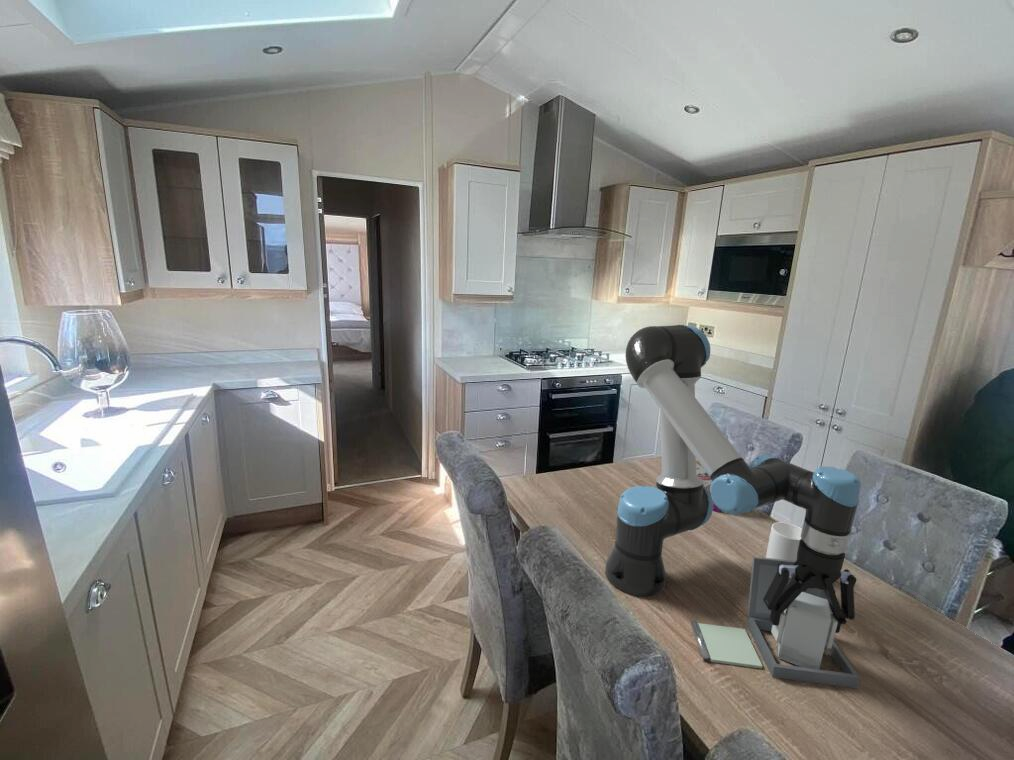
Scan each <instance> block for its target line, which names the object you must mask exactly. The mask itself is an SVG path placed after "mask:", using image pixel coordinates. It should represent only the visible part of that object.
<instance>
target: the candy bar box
mask: <svg viewBox="0 0 1014 760" xmlns="http://www.w3.org/2000/svg"><path fill="white" fill-rule="evenodd" d="M696 473H697V476H698V477H700V478H701V479H702V480H703V486H705V487H706V489H707V490H708V494H710V495H711V493H710V487H711V484H712V482H713V481H712V480H711V478H710V477H709V475H708V474H707V473H706V471H705V470H704V469H703V467H702V466H701V464H700V463H699V462H698V460H697V459H696ZM711 497H712V496H711ZM712 501H713V500H712ZM712 512H717V513H722V511H721V510H720V509H719V508H718V507H717V506H716V505H715V504H714V502H713V511H712Z"/></svg>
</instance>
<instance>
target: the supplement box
mask: <svg viewBox="0 0 1014 760" xmlns="http://www.w3.org/2000/svg"><path fill="white" fill-rule="evenodd" d="M830 612H831V608H830V606H829V603H828V600H827V598H826V599H823V598H820V597H817V596H814V595H811V594H808V593H805V592H801V593H800V595H799V596H798V597H797V598H796V599H795V600H794V601H793V602H792V603H791V604H790V605H789V606H788V607H787V608H786V610H785V611H784V613H785V615H786V619H785V624H784V628H783V633H782V637H781V642H777V659H780V660H783V661H785V662H788V663H791V664H793V665H794V666H796V667H804V668H812V669H819V670H821V665H822V660H823V656H824V651H825V649H826V647H825V644H826V640H827V635H828V631H829V627H830V623H831V615H830Z"/></svg>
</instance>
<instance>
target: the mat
mask: <svg viewBox="0 0 1014 760" xmlns="http://www.w3.org/2000/svg"><path fill="white" fill-rule="evenodd" d="M697 624H698V627H699V629H700V632H701V635H702V638H703V641H704V643H705V646H706V649H707V652H708V655H709V658H710V659H709V661H710V663H716V664H717V663H718V664H726V665H732V666H740V667H746V668H756V669H763V666H764V665H763V663H762V662H761V660H760V657H759V656H758V654H757V652H756V650H755V647H754V645H753V643H752V641H751V639H750V637H749V635H748V632H747V631H746V629H745V628H740V627H731V626H724V625H715V624H710V623H709V624H708V623H701V622H700V623H699V622H697Z"/></svg>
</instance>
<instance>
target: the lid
mask: <svg viewBox="0 0 1014 760" xmlns="http://www.w3.org/2000/svg"><path fill="white" fill-rule="evenodd" d="M780 562H782V563H783V564H784V565H793V564H794V563H795V562H796V561H790V560H781V559H771V558H766V557H761V556H752V563H751V574H750V575H751V576H750V585H749V596H748V606H747V616H748V618H749V617H756V618H765V619H770V615H771V611H772V610H769V609H768V608H767V606H766V604H765V603H764V601H763V599H764V597H765V595H766V593H767V591H768V589H769V587H770V585H771V583H772V581H773V579H774V577H775V575H776V573H777V567H778V563H780ZM795 574H796V573H792V575H791V576H792V577H793V576H794V575H795ZM792 577H791V578H789V580H788V583H787V585H788V584H789V583H790V582H791V579H792ZM800 583H801V584H802V582H801V581H800ZM787 585H786V586H787ZM805 593H808V594H811V595H814V596H817V597H820V598H823V599H826V600H827V598H826V595H825V592H824V590H820V589H817V588H812V589H811V588H808V589H807V590H806V591H805Z"/></svg>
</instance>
